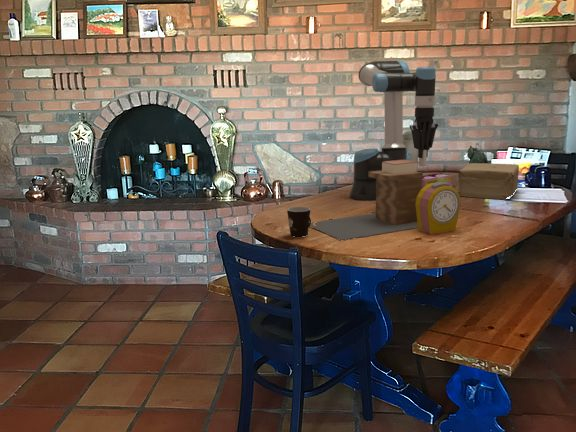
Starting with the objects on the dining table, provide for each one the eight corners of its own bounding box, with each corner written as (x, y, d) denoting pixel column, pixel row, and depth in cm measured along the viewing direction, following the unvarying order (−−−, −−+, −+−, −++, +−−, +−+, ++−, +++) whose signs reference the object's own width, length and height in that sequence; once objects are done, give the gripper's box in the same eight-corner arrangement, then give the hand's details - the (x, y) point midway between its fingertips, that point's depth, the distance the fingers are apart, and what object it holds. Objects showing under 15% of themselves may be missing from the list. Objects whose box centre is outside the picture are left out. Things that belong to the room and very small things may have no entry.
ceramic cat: (465, 176, 334) (466, 141, 330) (475, 175, 335) (477, 141, 330) (479, 181, 315) (481, 145, 310) (490, 181, 316) (493, 145, 311)
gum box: (440, 201, 266) (441, 172, 263) (454, 204, 260) (455, 174, 257) (404, 208, 253) (405, 178, 250) (417, 211, 247) (418, 180, 244)
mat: (303, 224, 227) (303, 223, 227) (392, 211, 246) (392, 210, 246) (341, 240, 203) (341, 239, 203) (436, 225, 222) (436, 224, 222)
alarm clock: (427, 235, 208) (429, 185, 204) (414, 230, 216) (416, 182, 211) (460, 230, 214) (462, 182, 210) (446, 225, 221) (448, 179, 217)
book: (381, 171, 227) (382, 161, 226) (403, 169, 232) (404, 159, 231) (394, 174, 220) (394, 163, 219) (416, 171, 225) (417, 161, 224)
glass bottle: (398, 179, 327) (399, 130, 320) (416, 179, 325) (418, 130, 319) (399, 182, 317) (400, 131, 311) (417, 182, 316) (419, 131, 309)
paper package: (466, 187, 298) (468, 161, 295) (519, 191, 287) (521, 163, 283) (455, 197, 275) (457, 168, 272) (512, 201, 263) (514, 171, 260)
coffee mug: (286, 232, 215) (286, 207, 213) (309, 232, 216) (308, 206, 213) (289, 241, 204) (288, 214, 201) (313, 240, 204) (312, 213, 202)
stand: (367, 220, 232) (368, 171, 228) (399, 215, 240) (400, 168, 235) (388, 227, 220) (389, 176, 216) (420, 222, 227) (422, 172, 223)
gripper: (417, 107, 220) (415, 168, 225) (443, 106, 225) (441, 165, 231) (405, 107, 226) (403, 166, 231) (430, 106, 232) (428, 163, 237)
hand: (422, 165), depth 231 cm, fingers closed
